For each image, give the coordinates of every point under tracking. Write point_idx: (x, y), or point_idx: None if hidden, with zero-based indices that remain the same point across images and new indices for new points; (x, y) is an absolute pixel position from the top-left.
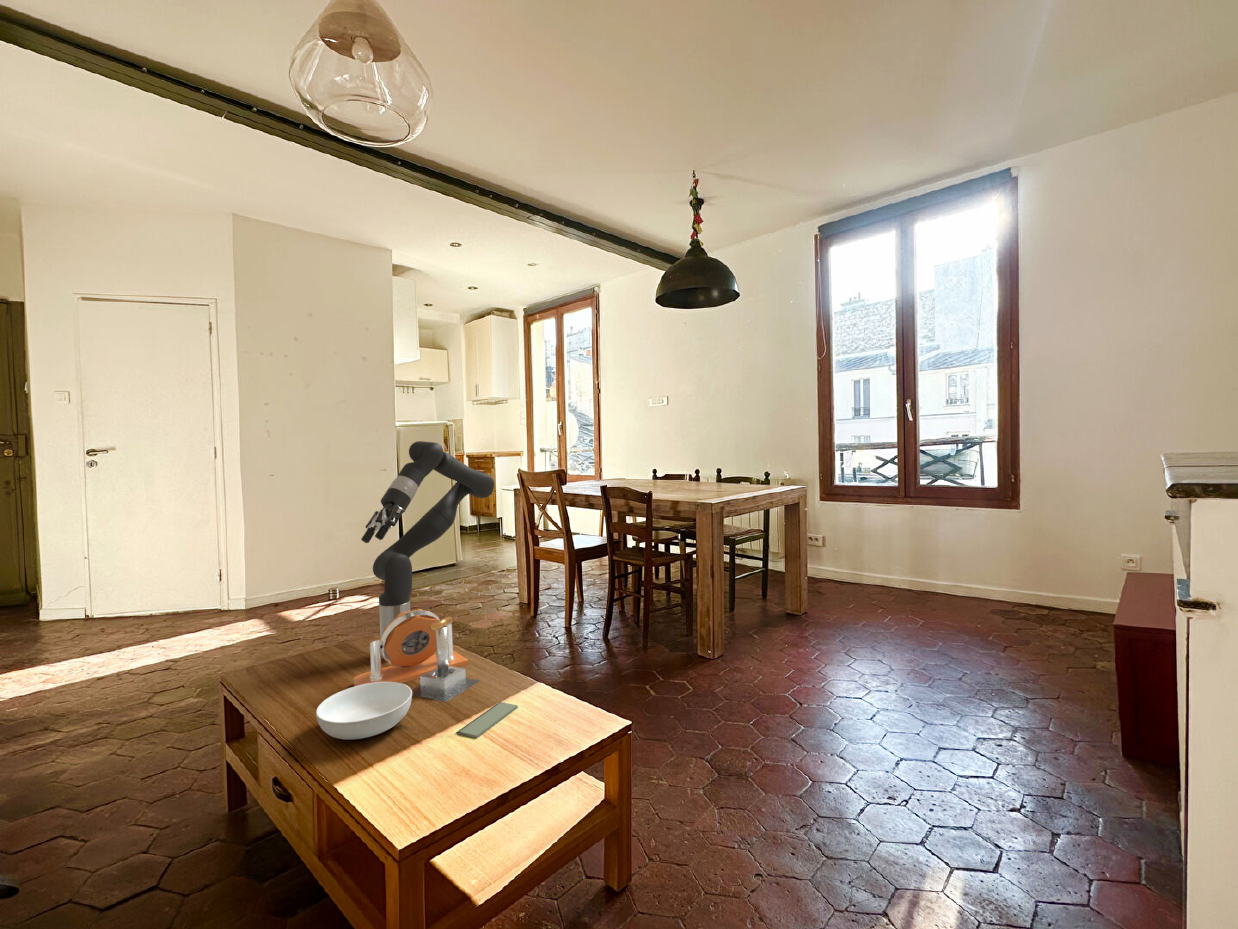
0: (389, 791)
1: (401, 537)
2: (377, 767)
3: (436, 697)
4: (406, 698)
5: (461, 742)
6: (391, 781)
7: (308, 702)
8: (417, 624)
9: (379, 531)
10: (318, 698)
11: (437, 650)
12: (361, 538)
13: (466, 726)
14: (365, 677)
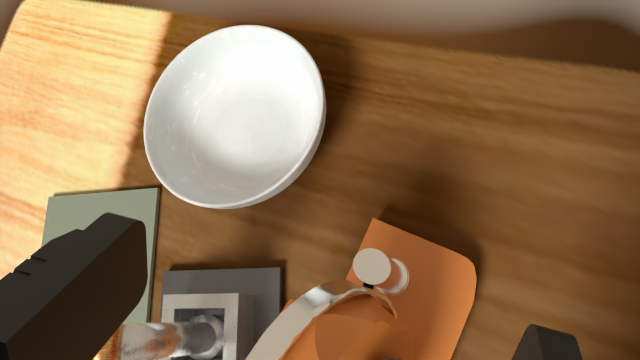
0: (93, 41)
1: None
2: (145, 65)
3: (195, 280)
4: (195, 194)
5: (69, 177)
6: (104, 55)
7: (488, 144)
8: None
9: (58, 262)
10: (487, 169)
11: (163, 322)
12: (574, 339)
13: (78, 213)
14: (439, 277)
